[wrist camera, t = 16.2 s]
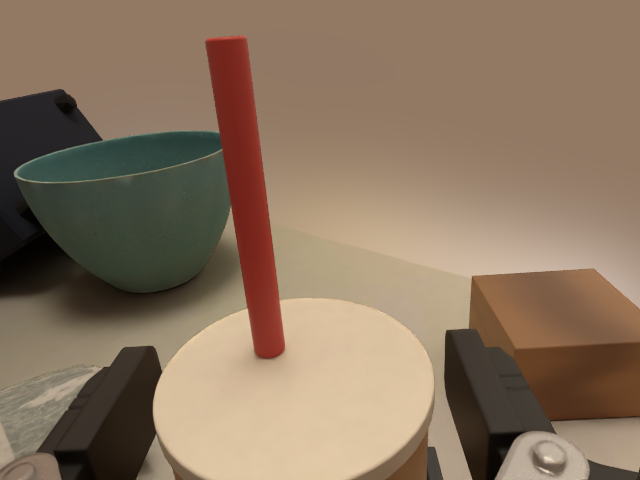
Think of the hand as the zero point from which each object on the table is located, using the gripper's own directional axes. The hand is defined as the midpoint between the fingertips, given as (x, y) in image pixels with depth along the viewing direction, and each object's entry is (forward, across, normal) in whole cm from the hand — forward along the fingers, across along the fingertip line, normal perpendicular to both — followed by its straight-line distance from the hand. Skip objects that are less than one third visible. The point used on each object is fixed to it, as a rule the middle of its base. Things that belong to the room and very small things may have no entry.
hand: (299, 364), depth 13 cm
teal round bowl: (+31, +17, +12) cm, 37 cm away
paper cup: (-2, 0, +12) cm, 12 cm away
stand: (+14, -14, +12) cm, 23 cm away
